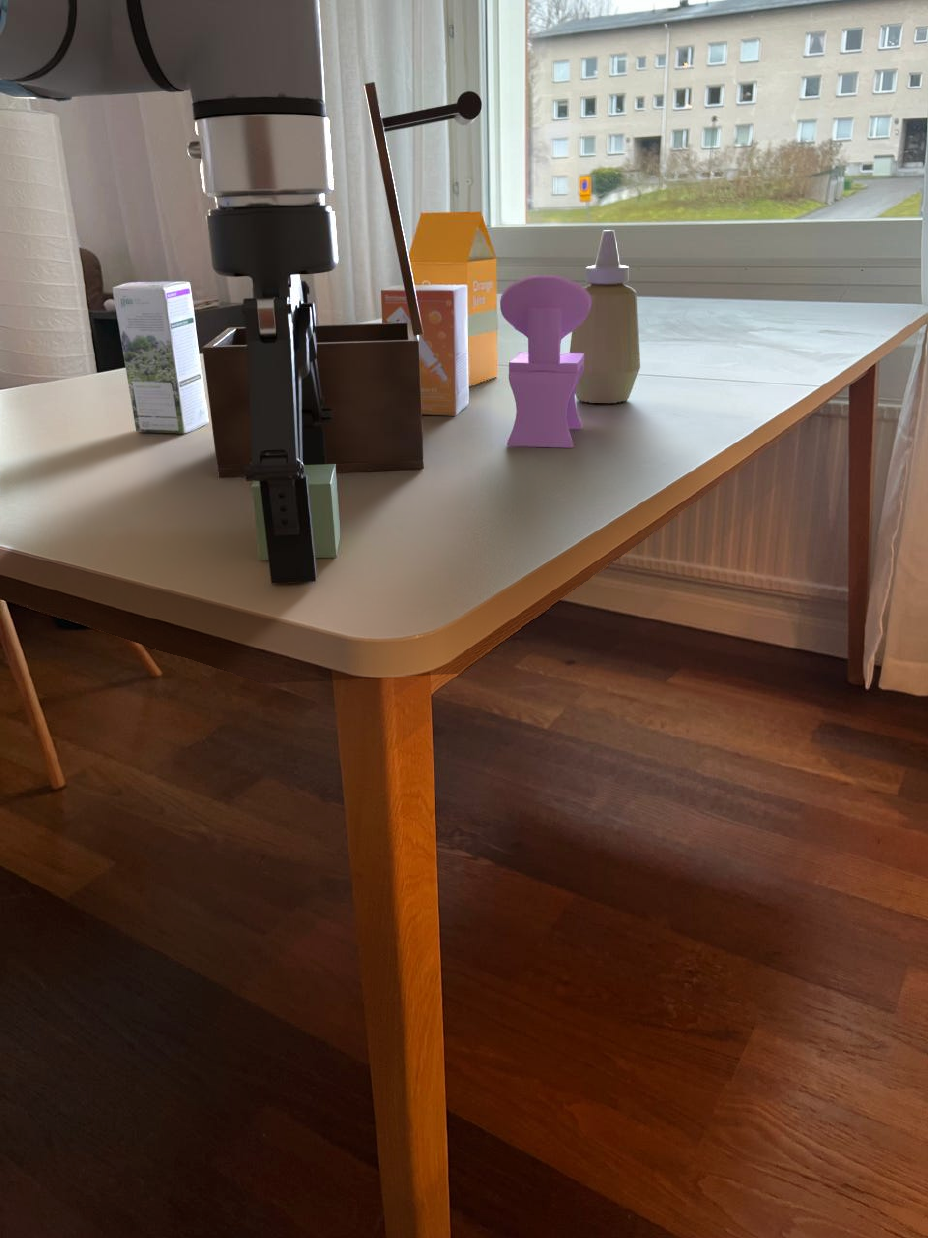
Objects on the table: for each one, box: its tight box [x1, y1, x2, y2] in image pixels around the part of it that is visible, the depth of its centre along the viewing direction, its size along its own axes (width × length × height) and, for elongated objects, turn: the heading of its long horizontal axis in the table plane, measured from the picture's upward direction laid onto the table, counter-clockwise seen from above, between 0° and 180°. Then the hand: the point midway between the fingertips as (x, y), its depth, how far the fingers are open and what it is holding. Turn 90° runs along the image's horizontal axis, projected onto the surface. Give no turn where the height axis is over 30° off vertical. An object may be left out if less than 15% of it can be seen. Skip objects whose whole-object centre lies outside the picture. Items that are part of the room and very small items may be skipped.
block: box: [251, 464, 342, 562], centre depth 64 cm, size 5×5×5 cm
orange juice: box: [408, 211, 499, 387], centre depth 120 cm, size 8×9×20 cm
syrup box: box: [111, 281, 210, 435], centre depth 98 cm, size 6×6×14 cm
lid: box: [363, 81, 483, 336], centre depth 81 cm, size 18×14×9 cm
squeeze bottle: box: [569, 229, 641, 404], centre depth 106 cm, size 8×8×18 cm
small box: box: [380, 284, 470, 417], centre depth 104 cm, size 8×6×13 cm
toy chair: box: [499, 274, 591, 449], centre depth 90 cm, size 8×9×15 cm
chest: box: [201, 322, 425, 478], centre depth 87 cm, size 18×14×11 cm
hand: (304, 544), depth 65 cm, fingers open, 13 cm apart
